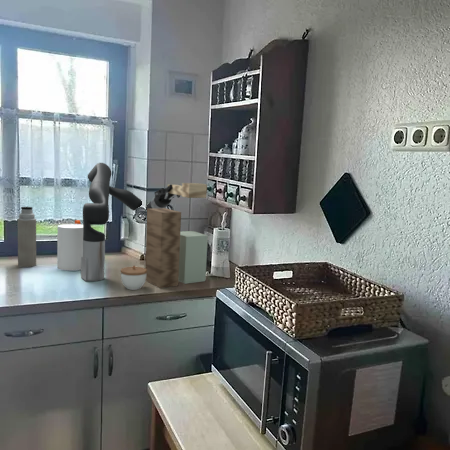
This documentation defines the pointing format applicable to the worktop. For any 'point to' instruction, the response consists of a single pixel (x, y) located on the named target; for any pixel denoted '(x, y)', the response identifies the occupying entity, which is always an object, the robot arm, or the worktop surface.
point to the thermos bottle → (26, 238)
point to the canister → (69, 246)
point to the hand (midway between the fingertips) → (175, 186)
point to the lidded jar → (133, 277)
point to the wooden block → (190, 190)
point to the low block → (192, 257)
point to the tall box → (163, 247)
